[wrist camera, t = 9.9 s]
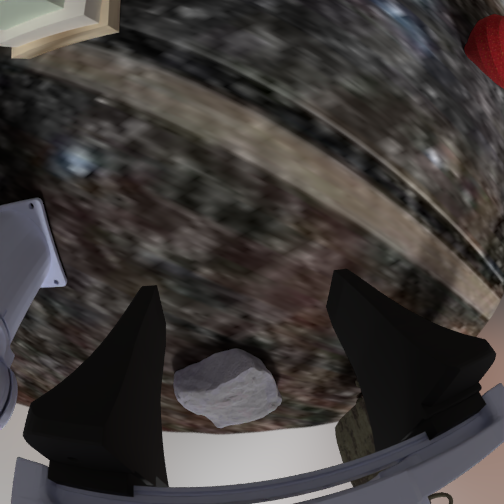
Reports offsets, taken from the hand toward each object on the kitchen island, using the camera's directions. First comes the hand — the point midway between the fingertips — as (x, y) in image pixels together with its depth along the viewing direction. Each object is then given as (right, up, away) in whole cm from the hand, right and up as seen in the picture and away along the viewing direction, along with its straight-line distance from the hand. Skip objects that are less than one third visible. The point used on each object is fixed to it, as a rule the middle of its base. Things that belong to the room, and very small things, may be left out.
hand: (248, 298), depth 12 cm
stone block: (-2, -13, +21) cm, 24 cm away
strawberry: (+19, +20, +4) cm, 28 cm away
